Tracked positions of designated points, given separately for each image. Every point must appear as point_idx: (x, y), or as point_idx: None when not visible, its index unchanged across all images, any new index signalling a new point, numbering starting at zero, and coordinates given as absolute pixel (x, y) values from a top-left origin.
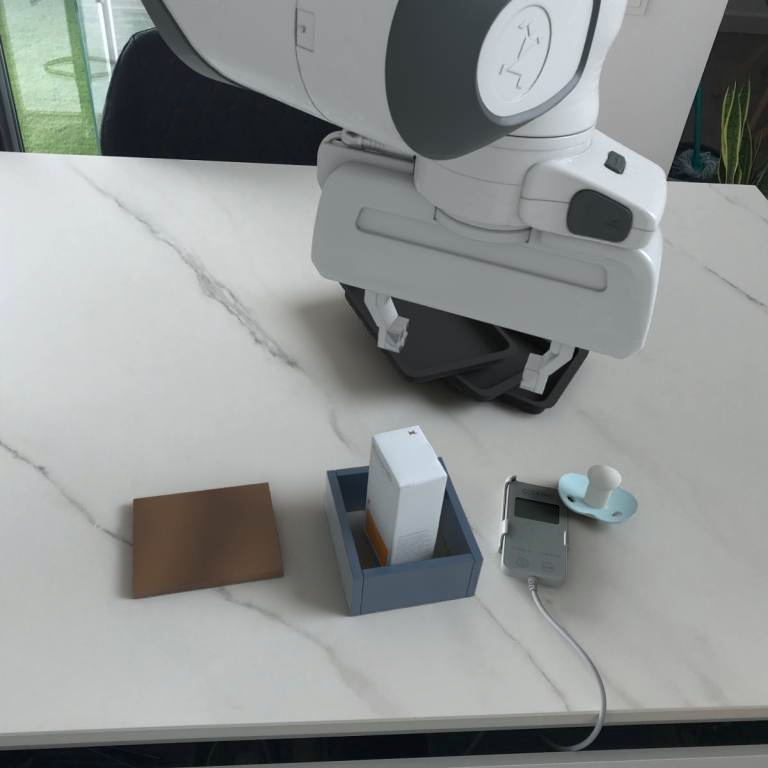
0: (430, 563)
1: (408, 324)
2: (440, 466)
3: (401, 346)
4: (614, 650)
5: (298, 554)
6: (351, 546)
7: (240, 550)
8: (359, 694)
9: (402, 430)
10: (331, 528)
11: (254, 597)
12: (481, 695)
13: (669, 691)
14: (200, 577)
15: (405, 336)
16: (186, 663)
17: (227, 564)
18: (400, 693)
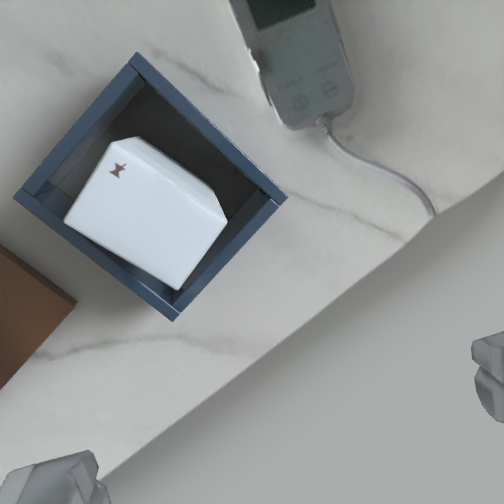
0: (235, 245)
1: (73, 497)
2: (207, 211)
3: (103, 499)
4: (430, 154)
5: (67, 266)
6: (138, 286)
7: (12, 318)
8: (234, 353)
9: (99, 177)
10: None
11: (72, 340)
12: (331, 284)
13: (489, 165)
14: (7, 372)
15: (88, 483)
16: (77, 430)
17: (16, 341)
18: (265, 329)
